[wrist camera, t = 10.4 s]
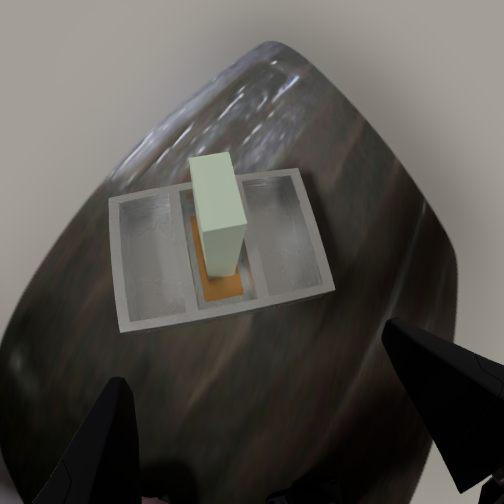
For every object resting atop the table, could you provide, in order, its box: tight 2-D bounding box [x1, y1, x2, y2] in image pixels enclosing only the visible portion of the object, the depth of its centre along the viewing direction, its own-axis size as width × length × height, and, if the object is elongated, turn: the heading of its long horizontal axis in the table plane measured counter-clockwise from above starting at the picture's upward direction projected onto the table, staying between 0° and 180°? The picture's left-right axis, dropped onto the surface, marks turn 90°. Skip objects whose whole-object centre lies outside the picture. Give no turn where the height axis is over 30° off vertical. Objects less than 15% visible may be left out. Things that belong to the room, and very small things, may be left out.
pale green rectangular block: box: [189, 152, 247, 280], centre depth 18 cm, size 4×2×10 cm, turn 14°
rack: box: [109, 168, 335, 334], centre depth 22 cm, size 10×15×4 cm
